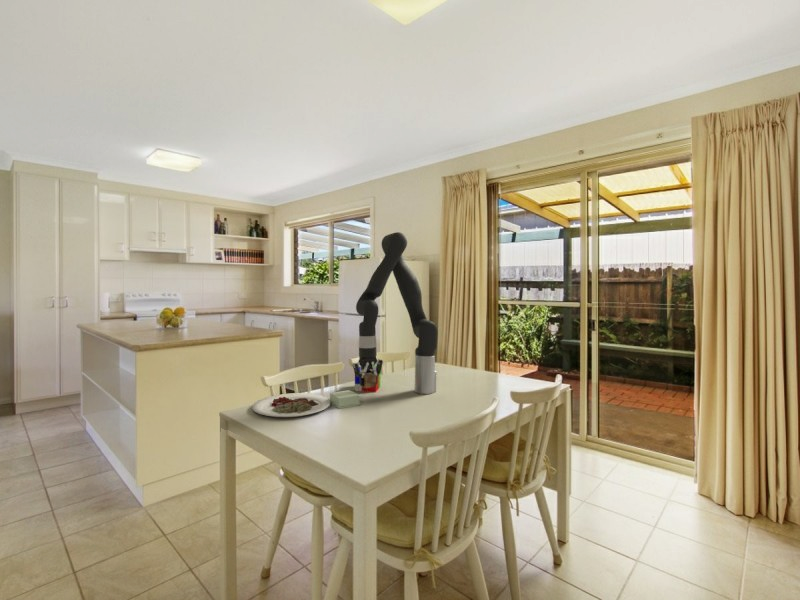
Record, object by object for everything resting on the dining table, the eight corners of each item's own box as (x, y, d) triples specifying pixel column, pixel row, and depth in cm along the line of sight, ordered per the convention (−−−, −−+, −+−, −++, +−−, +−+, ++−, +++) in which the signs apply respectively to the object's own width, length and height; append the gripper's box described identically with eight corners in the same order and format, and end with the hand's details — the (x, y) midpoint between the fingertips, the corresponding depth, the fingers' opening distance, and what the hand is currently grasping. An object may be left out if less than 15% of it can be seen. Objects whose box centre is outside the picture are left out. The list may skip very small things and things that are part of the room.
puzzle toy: (354, 390, 189) (354, 369, 189) (360, 385, 199) (360, 365, 199) (375, 392, 188) (376, 370, 187) (380, 386, 198) (380, 366, 197)
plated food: (312, 424, 145) (312, 414, 145) (236, 417, 151) (236, 408, 151) (340, 400, 175) (340, 392, 175) (276, 395, 181) (276, 387, 181)
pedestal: (349, 398, 176) (349, 389, 176) (360, 404, 168) (360, 395, 168) (328, 402, 171) (328, 392, 170) (338, 408, 162) (338, 398, 162)
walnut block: (370, 384, 179) (370, 372, 179) (376, 386, 175) (376, 374, 175) (360, 385, 176) (360, 374, 176) (366, 388, 172) (365, 376, 172)
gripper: (377, 343, 182) (377, 380, 183) (348, 346, 174) (349, 385, 175) (386, 345, 176) (386, 384, 177) (356, 348, 168) (357, 389, 168)
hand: (368, 384), depth 176 cm, fingers closed on walnut block, 5 cm apart
